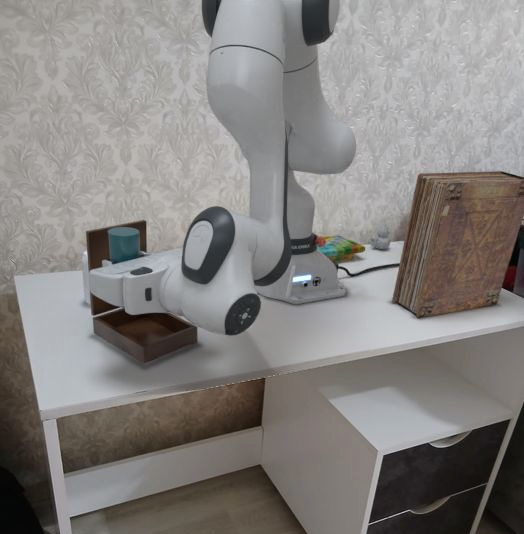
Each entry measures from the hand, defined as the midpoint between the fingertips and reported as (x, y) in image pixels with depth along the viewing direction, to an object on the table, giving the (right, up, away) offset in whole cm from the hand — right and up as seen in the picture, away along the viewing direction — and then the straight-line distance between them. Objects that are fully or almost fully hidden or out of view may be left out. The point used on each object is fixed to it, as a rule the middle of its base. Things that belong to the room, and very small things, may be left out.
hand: (121, 259), depth 96 cm
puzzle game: (+42, +10, +61) cm, 75 cm away
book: (+69, -5, +37) cm, 78 cm away
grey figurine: (+60, +15, +72) cm, 95 cm away
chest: (+2, -14, +10) cm, 17 cm away
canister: (0, -7, +3) cm, 8 cm away
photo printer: (-9, -5, +25) cm, 27 cm away
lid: (-2, 0, +8) cm, 9 cm away
